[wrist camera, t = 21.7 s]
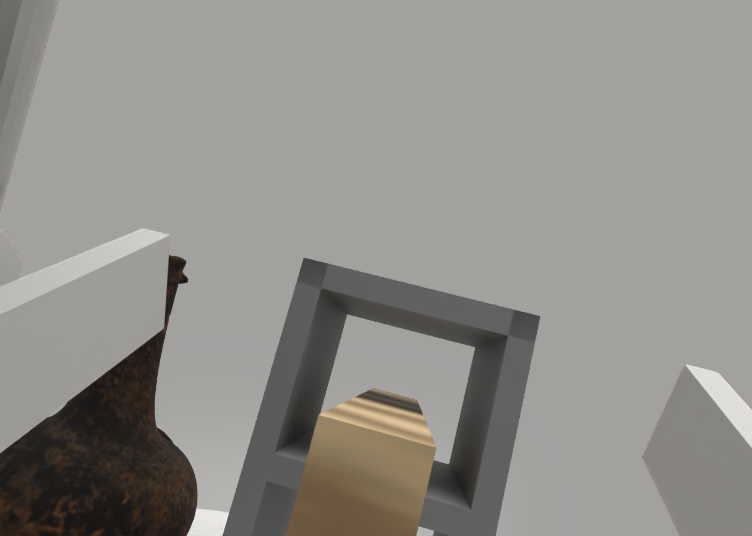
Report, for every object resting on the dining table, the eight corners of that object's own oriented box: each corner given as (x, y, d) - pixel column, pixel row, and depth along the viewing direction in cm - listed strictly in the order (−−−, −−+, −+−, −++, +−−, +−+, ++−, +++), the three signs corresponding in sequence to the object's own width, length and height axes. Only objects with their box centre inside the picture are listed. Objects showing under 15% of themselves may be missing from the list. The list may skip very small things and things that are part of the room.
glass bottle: (209, 582, 49) (294, 292, 53) (48, 678, 32) (193, 242, 37) (63, 518, 54) (152, 259, 59) (-141, 571, 37) (8, 202, 42)
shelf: (422, 892, 25) (540, 316, 30) (147, 791, 26) (303, 257, 31) (416, 706, 38) (497, 334, 43) (236, 647, 40) (334, 292, 45)
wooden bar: (406, 577, 16) (436, 447, 17) (284, 540, 17) (318, 414, 17) (405, 445, 46) (417, 400, 46) (361, 433, 46) (373, 388, 47)
